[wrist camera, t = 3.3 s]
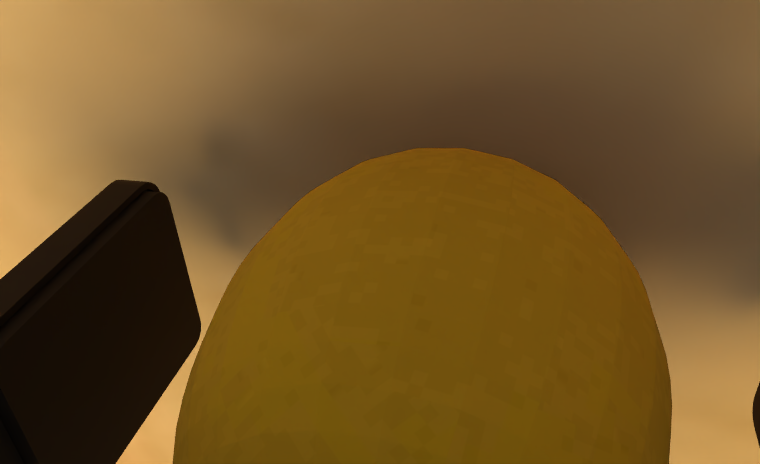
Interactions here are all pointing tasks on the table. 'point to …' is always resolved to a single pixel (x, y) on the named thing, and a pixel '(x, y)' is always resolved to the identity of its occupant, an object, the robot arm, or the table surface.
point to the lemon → (432, 329)
